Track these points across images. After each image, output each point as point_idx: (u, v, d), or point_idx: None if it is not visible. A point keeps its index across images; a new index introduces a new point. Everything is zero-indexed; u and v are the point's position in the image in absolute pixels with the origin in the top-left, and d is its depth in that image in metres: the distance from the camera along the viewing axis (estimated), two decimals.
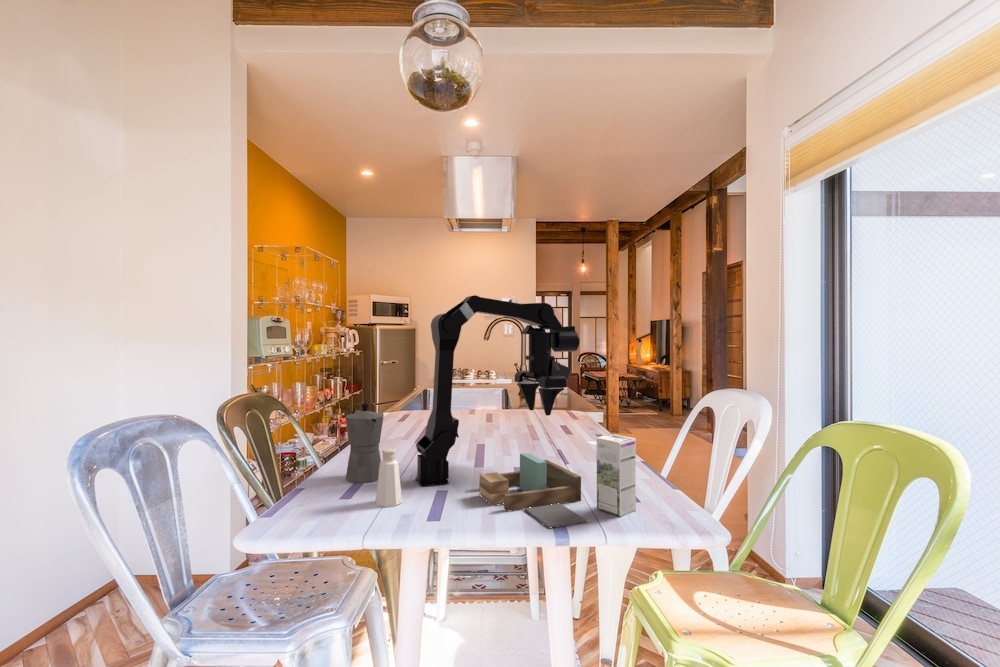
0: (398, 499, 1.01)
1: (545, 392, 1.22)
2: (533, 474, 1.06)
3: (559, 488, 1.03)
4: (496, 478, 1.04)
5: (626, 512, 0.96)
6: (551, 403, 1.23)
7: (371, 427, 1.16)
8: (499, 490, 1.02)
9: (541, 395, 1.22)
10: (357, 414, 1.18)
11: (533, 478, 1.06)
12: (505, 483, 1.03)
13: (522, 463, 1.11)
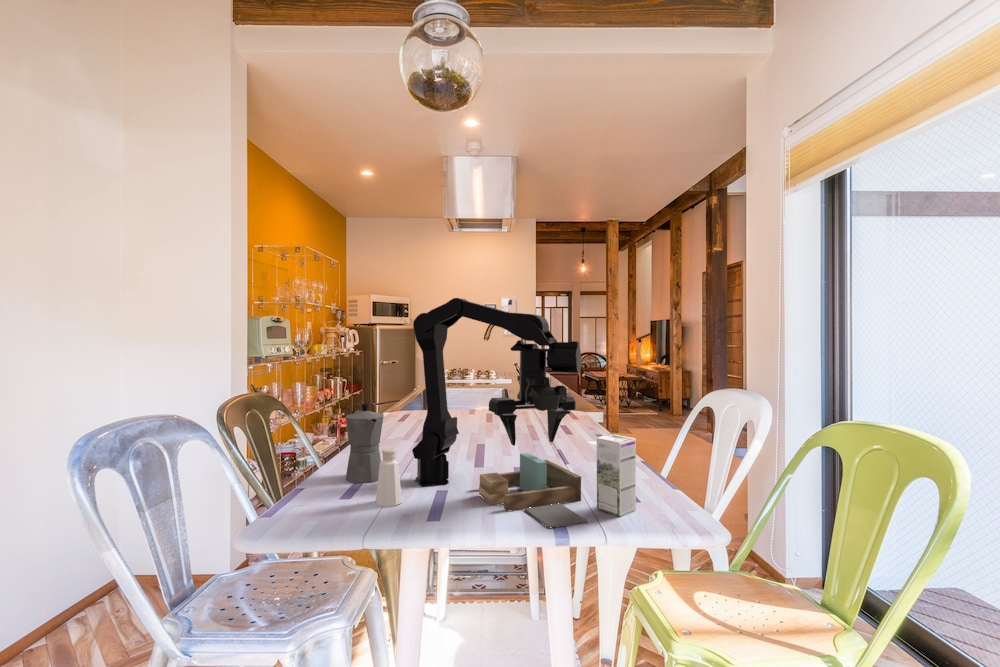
0: (398, 499, 1.01)
1: (502, 416, 1.08)
2: (533, 474, 1.06)
3: (559, 488, 1.03)
4: (496, 479, 1.03)
5: (626, 512, 0.96)
6: (510, 432, 1.06)
7: (371, 427, 1.16)
8: (498, 490, 1.02)
9: None
10: (357, 414, 1.18)
11: (533, 478, 1.06)
12: (505, 484, 1.02)
13: (522, 463, 1.11)
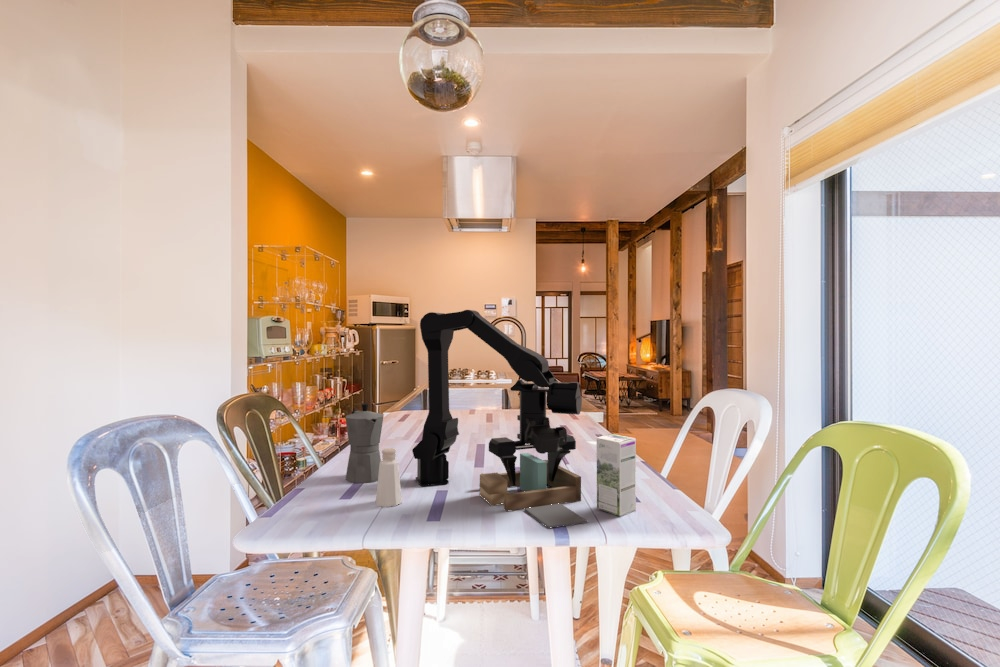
0: (398, 499, 1.01)
1: None
2: (533, 474, 1.06)
3: (559, 488, 1.03)
4: (495, 479, 1.04)
5: (626, 512, 0.96)
6: (510, 473, 1.06)
7: (371, 427, 1.16)
8: (498, 490, 1.02)
9: None
10: (357, 414, 1.18)
11: (533, 478, 1.06)
12: (504, 483, 1.02)
13: (522, 463, 1.11)
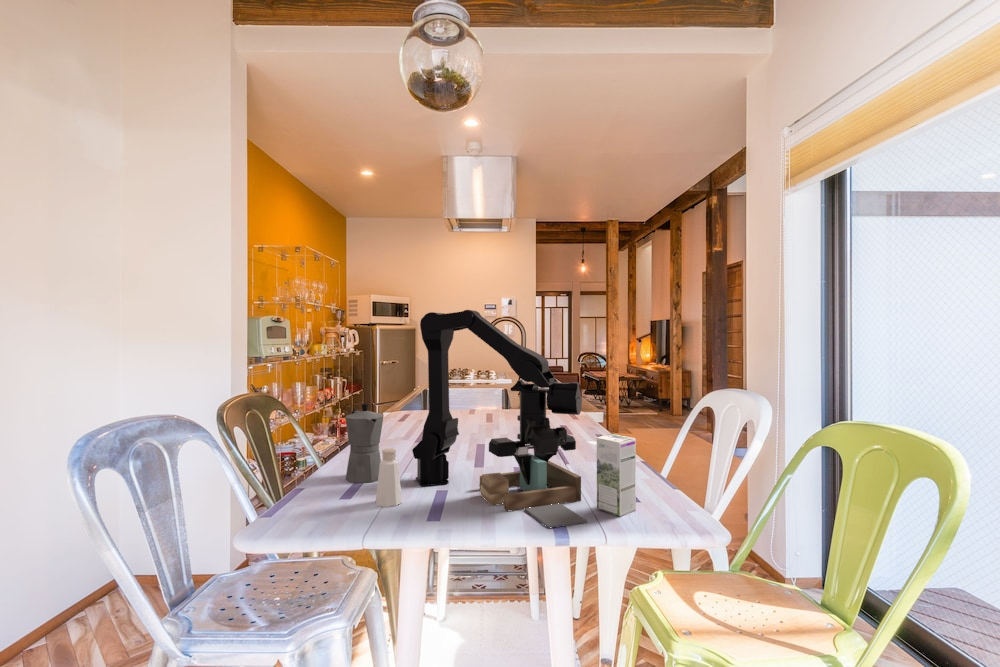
0: (398, 499, 1.01)
1: None
2: (533, 473, 1.06)
3: (559, 488, 1.03)
4: (497, 479, 1.04)
5: (626, 512, 0.96)
6: (525, 471, 1.07)
7: (371, 427, 1.16)
8: (499, 491, 1.02)
9: None
10: (357, 414, 1.18)
11: (533, 478, 1.06)
12: (505, 484, 1.02)
13: None
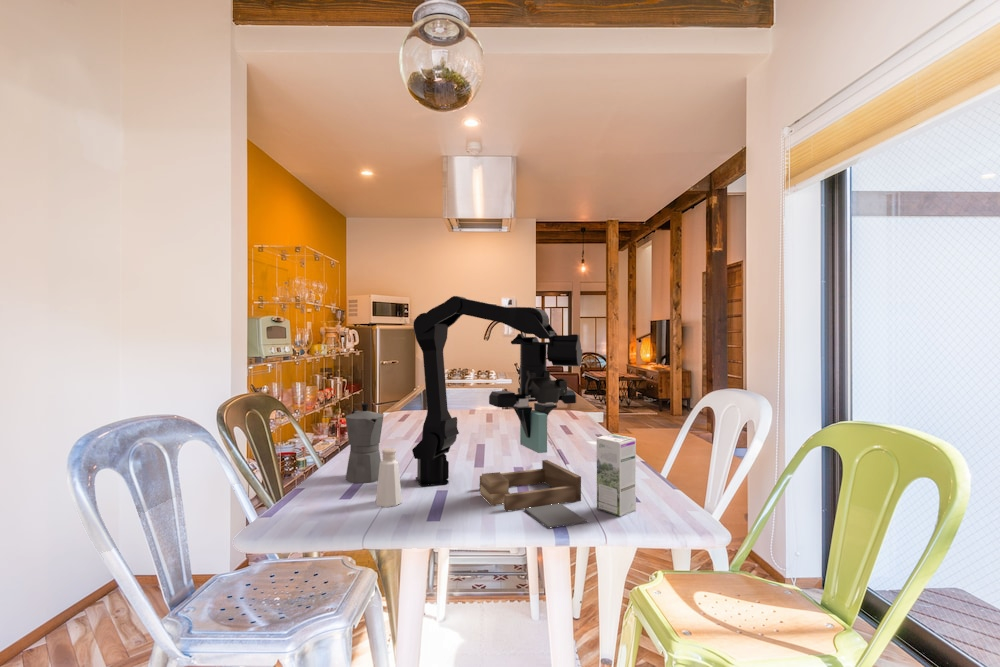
0: (398, 499, 1.01)
1: (517, 409, 1.09)
2: (534, 426, 1.06)
3: (559, 488, 1.03)
4: (497, 478, 1.04)
5: (626, 512, 0.96)
6: (525, 424, 1.07)
7: (371, 427, 1.16)
8: (499, 490, 1.02)
9: None
10: (357, 414, 1.18)
11: (533, 431, 1.06)
12: (505, 483, 1.02)
13: None
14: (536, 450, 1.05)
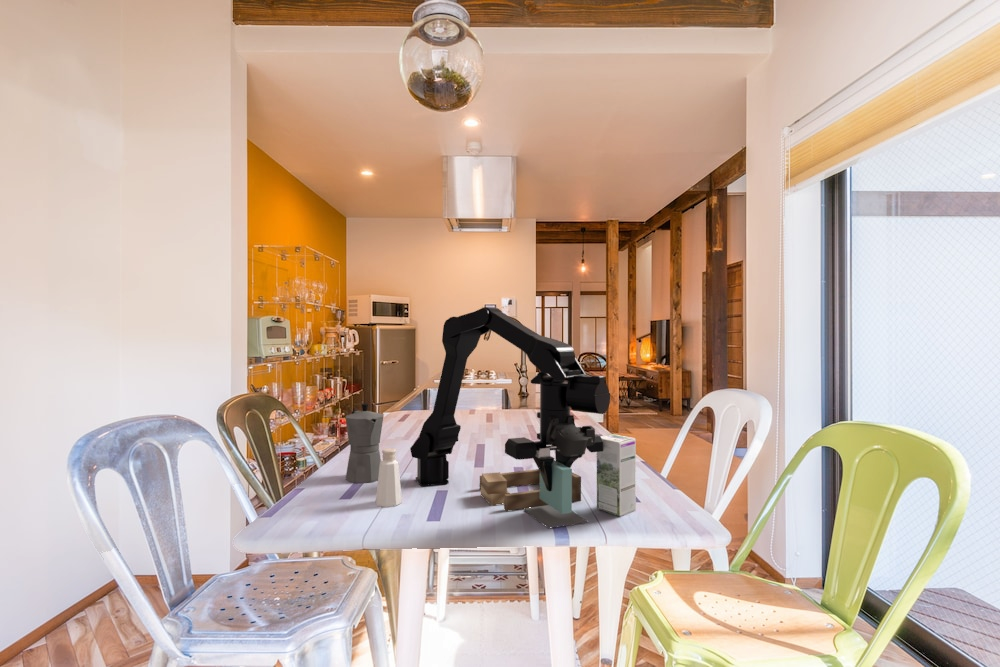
0: (398, 499, 1.01)
1: None
2: (556, 482, 0.93)
3: None
4: (495, 478, 1.04)
5: (626, 512, 0.96)
6: None
7: (371, 427, 1.16)
8: (497, 490, 1.02)
9: None
10: (357, 414, 1.18)
11: (556, 487, 0.93)
12: (503, 484, 1.02)
13: None
14: (559, 510, 0.92)
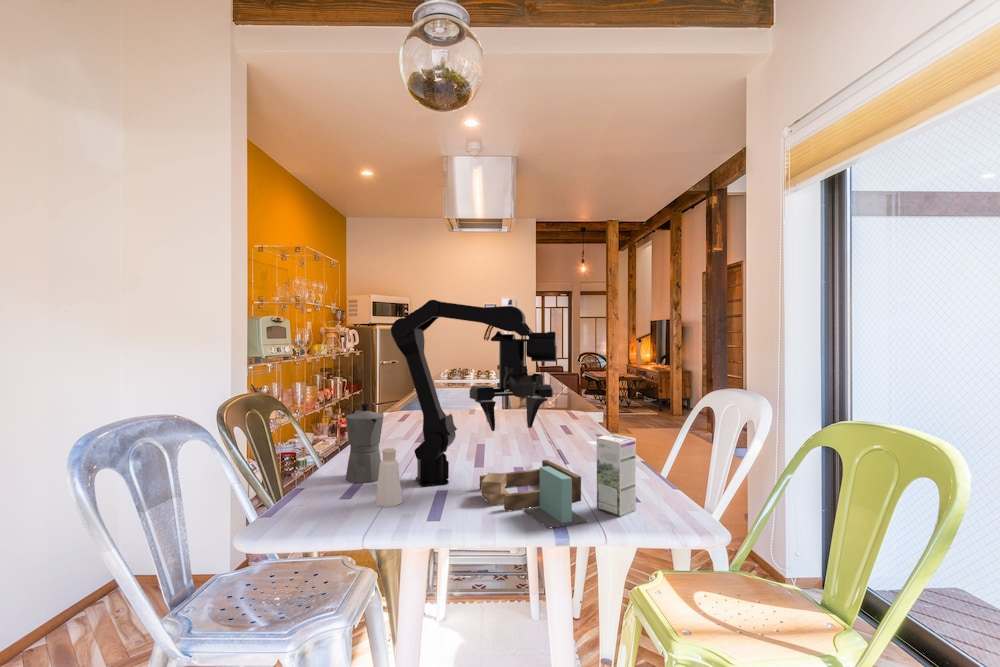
0: (398, 499, 1.01)
1: (482, 403, 1.13)
2: (556, 491, 0.93)
3: None
4: (493, 479, 1.03)
5: (626, 512, 0.96)
6: (490, 418, 1.12)
7: (371, 427, 1.16)
8: (491, 491, 1.02)
9: None
10: (357, 414, 1.18)
11: (556, 496, 0.93)
12: (497, 485, 1.02)
13: (543, 478, 0.98)
14: (559, 519, 0.92)
